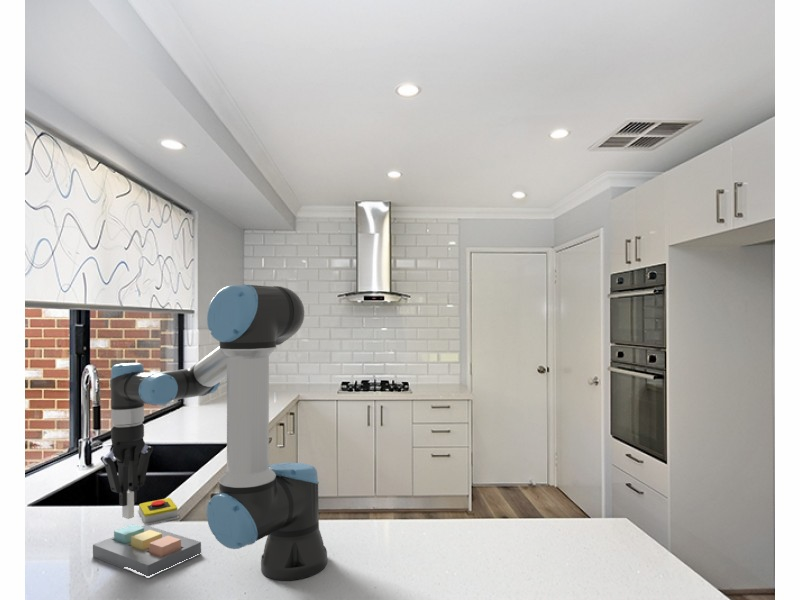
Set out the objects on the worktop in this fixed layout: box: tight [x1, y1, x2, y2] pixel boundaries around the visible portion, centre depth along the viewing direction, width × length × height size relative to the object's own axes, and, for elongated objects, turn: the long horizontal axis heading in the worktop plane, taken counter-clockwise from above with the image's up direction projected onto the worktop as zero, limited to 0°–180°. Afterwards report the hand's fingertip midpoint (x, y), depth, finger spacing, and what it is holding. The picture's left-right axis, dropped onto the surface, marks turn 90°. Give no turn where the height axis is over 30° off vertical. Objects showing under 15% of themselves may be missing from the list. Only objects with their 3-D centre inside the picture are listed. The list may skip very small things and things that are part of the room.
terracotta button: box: [149, 536, 181, 557], centre depth 128 cm, size 5×5×3 cm
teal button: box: [113, 524, 144, 544], centre depth 136 cm, size 5×5×3 cm
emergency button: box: [137, 497, 180, 526], centre depth 161 cm, size 9×4×15 cm
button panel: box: [92, 524, 202, 576], centre depth 132 cm, size 23×14×3 cm, turn 58°
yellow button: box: [131, 530, 162, 551], centre depth 132 cm, size 5×5×3 cm
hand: (128, 516), depth 137 cm, fingers closed
